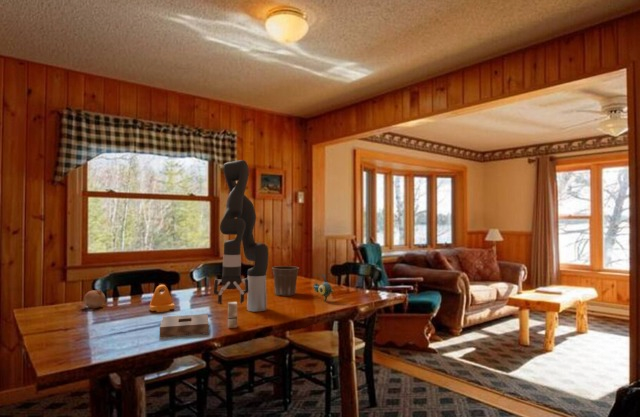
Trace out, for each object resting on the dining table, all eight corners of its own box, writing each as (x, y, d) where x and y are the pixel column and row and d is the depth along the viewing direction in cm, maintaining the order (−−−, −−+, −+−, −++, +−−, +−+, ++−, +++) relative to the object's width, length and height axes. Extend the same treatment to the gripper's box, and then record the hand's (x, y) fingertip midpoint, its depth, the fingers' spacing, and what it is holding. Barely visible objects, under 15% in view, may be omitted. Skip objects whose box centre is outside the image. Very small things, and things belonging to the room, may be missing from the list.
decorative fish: (319, 305, 215) (327, 304, 219) (329, 291, 209) (337, 290, 213) (308, 286, 223) (317, 285, 226) (318, 272, 216) (326, 271, 220)
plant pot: (288, 290, 247) (288, 265, 247) (304, 294, 235) (304, 267, 235) (266, 293, 237) (266, 267, 237) (281, 298, 224) (281, 270, 225)
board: (207, 323, 172) (207, 314, 172) (208, 333, 156) (208, 323, 156) (163, 326, 166) (163, 316, 166) (159, 337, 151) (159, 327, 151)
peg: (236, 325, 169) (236, 301, 169) (237, 327, 166) (237, 303, 166) (227, 325, 168) (227, 302, 168) (228, 328, 165) (228, 304, 165)
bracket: (151, 312, 189) (151, 287, 189) (149, 309, 195) (149, 285, 196) (174, 310, 194) (175, 286, 195) (172, 307, 201) (172, 283, 201)
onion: (102, 313, 200) (112, 295, 201) (85, 311, 192) (96, 293, 193) (93, 304, 205) (102, 286, 206) (76, 302, 197) (86, 284, 197)
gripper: (247, 263, 173) (247, 301, 172) (214, 264, 169) (213, 302, 168) (249, 265, 166) (248, 304, 165) (214, 266, 162) (213, 306, 161)
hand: (230, 303), depth 167 cm, fingers open, 8 cm apart
